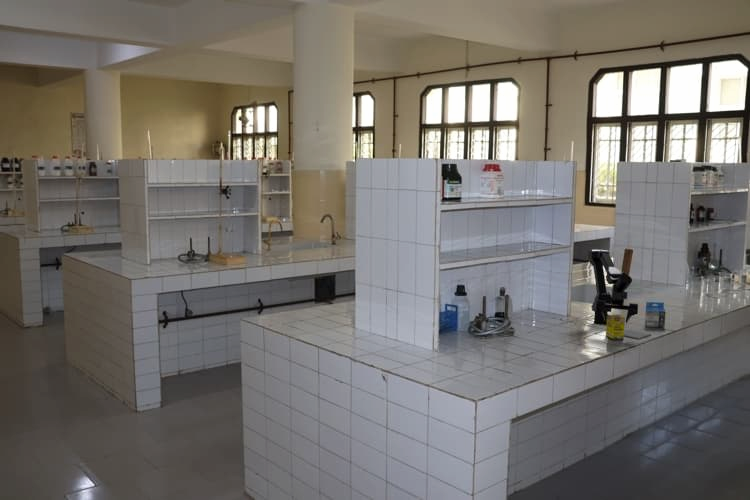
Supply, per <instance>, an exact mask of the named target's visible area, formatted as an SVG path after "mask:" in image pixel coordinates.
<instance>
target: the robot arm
mask: <svg viewBox="0 0 750 500" xmlns="http://www.w3.org/2000/svg"><path fill="white" fill-rule="evenodd" d="M587 252H588V253H587V258H588V260H589V264H590V265H591V266H592V268H593V273H594V282H595V287H596V289H595V290H596V295H595V297H594V301H593V303H592V305H591V311H592V312H594V314H593V316H594V319H593V324H597V325H607V315H610V314H608V313H612V309H614V310H622V311H627V313H626V317H625V324H628V322H629V321H630V319H631V317H633V316H635V315H638V313H639V312H638V311H639V304H638V303H635V302H629V303H628V304H629V305H625V304H624V303H625V300H628V291H626V290H627V289H628V288H629V287H630V285H631V284H632V283H633V279H632V277H631V276H630V275H628V274H627V273H626V272H622V271H621V270H619V269H618V268H617V267H616V266H615V264H614V263H615V262H614V261H613V259H612V257H611V255H610V251H609V250H607V249H590V251H587ZM604 270H605V271H604ZM605 272H606V276H605ZM606 282H607V283H606ZM606 284H608V285H612V289H611V294H610V293H608V291H607V285H606Z"/></svg>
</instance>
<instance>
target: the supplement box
mask: <svg viewBox="0 0 750 500" xmlns="http://www.w3.org/2000/svg"><path fill="white" fill-rule="evenodd" d="M625 324H626V317H625V316H623V315H620V314H609V315H607V324H605V325H606V326H605V327H606V328H605V338H607V339H609V340H612V341H619V340H620V341H623V340H624V337H625V336H624V330H625Z"/></svg>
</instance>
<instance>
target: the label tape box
mask: <svg viewBox="0 0 750 500" xmlns="http://www.w3.org/2000/svg"><path fill="white" fill-rule="evenodd" d="M664 306H665V302H657V301H654V302H653V301H646V303H645V318H644V326H645V327H646V328H665V326H666V309H665V307H664Z"/></svg>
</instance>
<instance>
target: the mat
mask: <svg viewBox="0 0 750 500" xmlns="http://www.w3.org/2000/svg"><path fill="white" fill-rule="evenodd" d="M650 336H652V335H651V333H648V332H647V333H646V332H642V331H638V330H633V329H629V328H627V329H624V337H627V338H631V339H635V340H641V339H643V338H648V337H650Z"/></svg>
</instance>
